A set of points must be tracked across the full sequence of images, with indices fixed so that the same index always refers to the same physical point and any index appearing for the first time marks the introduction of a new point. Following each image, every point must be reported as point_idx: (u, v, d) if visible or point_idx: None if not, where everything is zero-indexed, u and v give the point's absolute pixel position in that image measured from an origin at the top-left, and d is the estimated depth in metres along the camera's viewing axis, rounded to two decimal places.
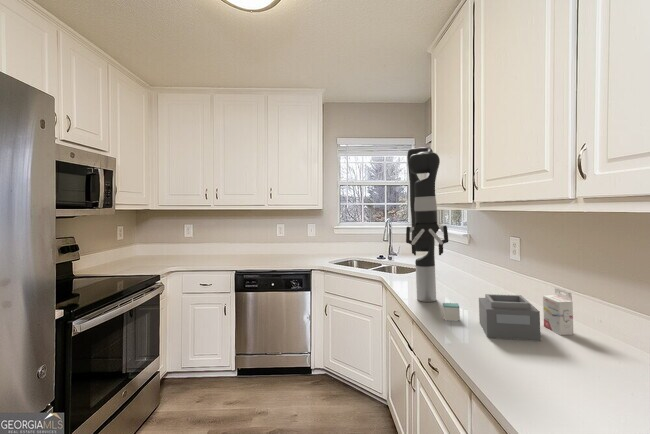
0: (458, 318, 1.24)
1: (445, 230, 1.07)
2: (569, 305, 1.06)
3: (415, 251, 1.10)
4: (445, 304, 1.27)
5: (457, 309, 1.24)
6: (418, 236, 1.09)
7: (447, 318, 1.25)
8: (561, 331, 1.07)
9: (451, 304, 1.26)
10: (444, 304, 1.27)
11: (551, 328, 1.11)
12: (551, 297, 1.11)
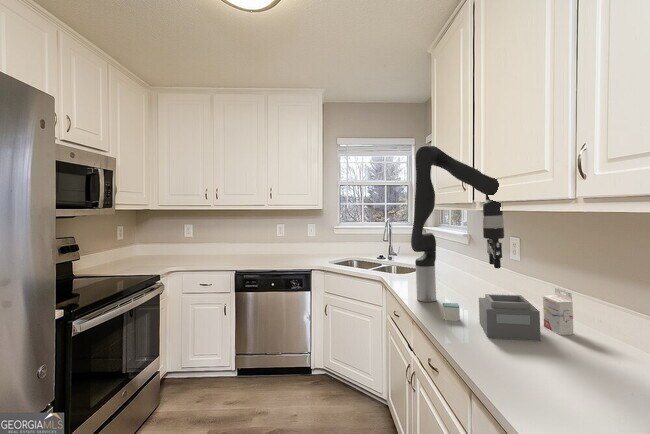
0: (458, 318, 1.24)
1: None
2: (569, 305, 1.06)
3: None
4: (445, 304, 1.27)
5: (457, 309, 1.24)
6: None
7: (447, 318, 1.25)
8: (561, 331, 1.07)
9: (451, 304, 1.26)
10: (444, 304, 1.27)
11: (551, 328, 1.11)
12: (551, 297, 1.11)
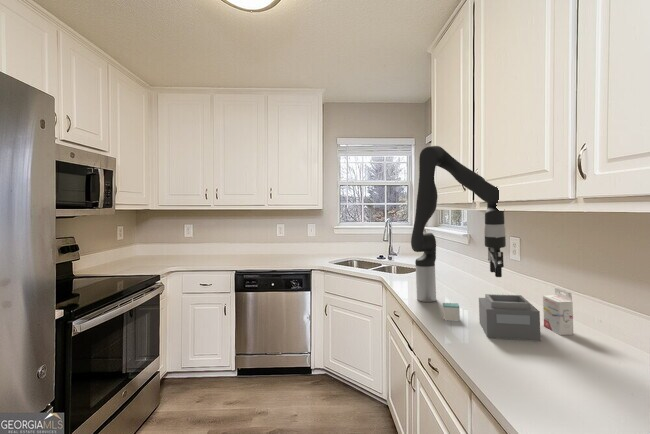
0: (458, 318, 1.24)
1: None
2: (569, 305, 1.06)
3: None
4: (445, 304, 1.27)
5: (457, 309, 1.24)
6: None
7: (447, 318, 1.25)
8: (561, 331, 1.07)
9: (451, 304, 1.26)
10: (444, 304, 1.27)
11: (551, 328, 1.11)
12: (551, 297, 1.11)
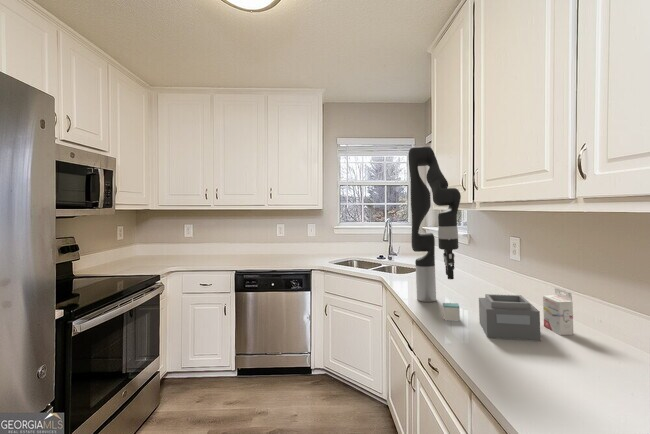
0: (458, 318, 1.24)
1: None
2: (569, 305, 1.06)
3: None
4: (445, 304, 1.27)
5: (457, 309, 1.24)
6: None
7: (447, 318, 1.25)
8: (561, 331, 1.07)
9: (451, 304, 1.26)
10: (444, 304, 1.27)
11: (551, 328, 1.11)
12: (551, 297, 1.11)
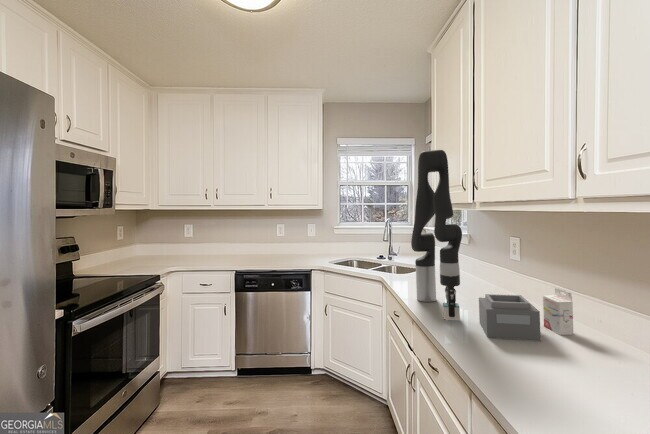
0: (458, 318, 1.24)
1: None
2: (569, 305, 1.06)
3: (454, 313, 1.24)
4: (445, 304, 1.27)
5: (457, 309, 1.24)
6: (455, 298, 1.24)
7: (447, 318, 1.25)
8: (561, 331, 1.07)
9: None
10: (444, 304, 1.27)
11: (551, 328, 1.11)
12: (551, 297, 1.11)
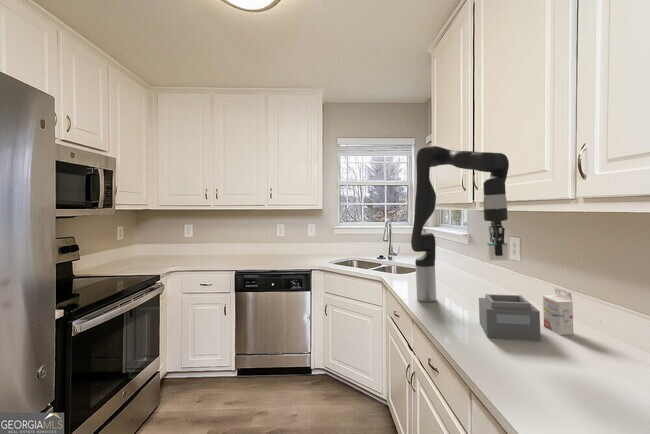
0: (506, 257, 1.10)
1: None
2: (569, 305, 1.06)
3: (501, 251, 1.10)
4: (490, 243, 1.13)
5: (505, 247, 1.10)
6: None
7: (493, 257, 1.11)
8: (561, 331, 1.07)
9: None
10: (489, 243, 1.13)
11: (551, 328, 1.11)
12: (551, 297, 1.11)
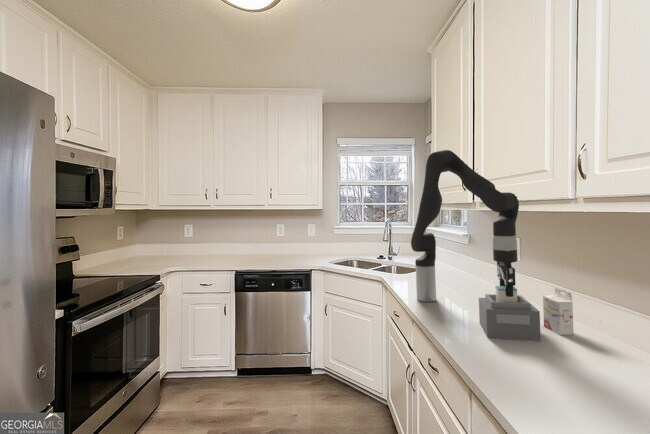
0: None
1: None
2: (569, 305, 1.06)
3: (512, 292, 1.08)
4: (499, 287, 1.12)
5: (514, 292, 1.09)
6: None
7: None
8: (561, 331, 1.07)
9: None
10: (498, 287, 1.12)
11: (551, 328, 1.11)
12: (551, 297, 1.11)
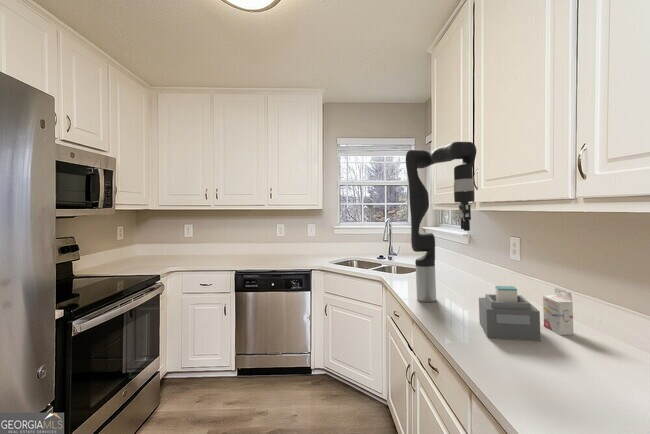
0: None
1: None
2: (569, 305, 1.06)
3: (469, 226, 1.23)
4: (499, 287, 1.12)
5: (514, 292, 1.09)
6: None
7: None
8: (561, 331, 1.07)
9: (506, 287, 1.11)
10: (498, 287, 1.12)
11: (551, 328, 1.11)
12: (551, 297, 1.11)
